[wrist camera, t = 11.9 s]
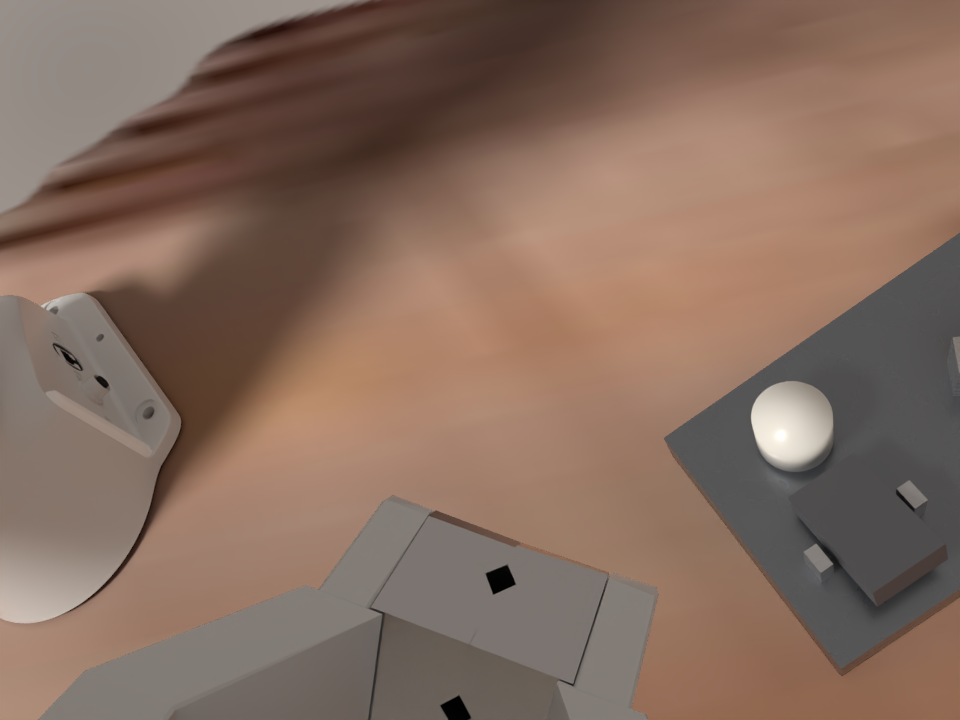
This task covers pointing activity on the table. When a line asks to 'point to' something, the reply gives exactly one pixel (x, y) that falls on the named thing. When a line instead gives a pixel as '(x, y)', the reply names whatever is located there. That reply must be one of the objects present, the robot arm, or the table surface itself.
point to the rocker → (868, 529)
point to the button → (793, 426)
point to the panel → (860, 429)
